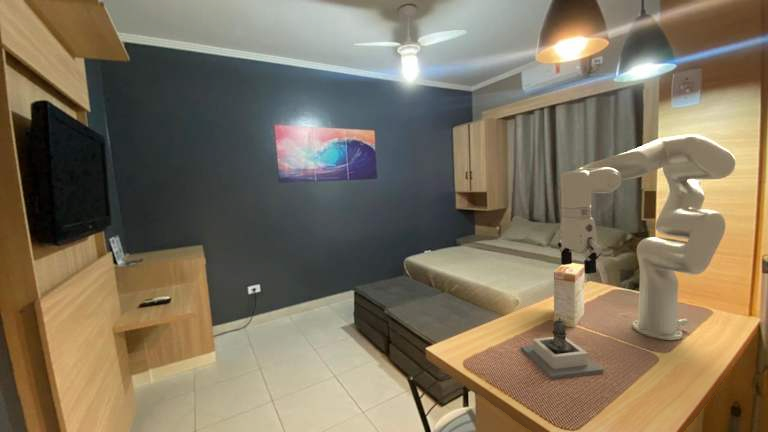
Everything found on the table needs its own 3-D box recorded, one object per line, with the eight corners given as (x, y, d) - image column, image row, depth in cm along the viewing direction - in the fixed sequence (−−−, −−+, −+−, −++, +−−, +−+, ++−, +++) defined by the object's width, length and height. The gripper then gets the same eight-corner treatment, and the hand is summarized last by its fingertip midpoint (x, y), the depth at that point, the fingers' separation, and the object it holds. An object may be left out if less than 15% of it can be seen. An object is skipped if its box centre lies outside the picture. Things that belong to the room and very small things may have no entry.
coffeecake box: (564, 309, 124) (564, 261, 122) (585, 313, 120) (585, 264, 117) (552, 322, 114) (552, 271, 112) (575, 328, 109) (575, 274, 107)
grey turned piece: (574, 363, 87) (574, 322, 86) (551, 362, 89) (551, 322, 87) (566, 352, 93) (567, 313, 92) (545, 351, 94) (545, 313, 93)
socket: (565, 344, 99) (565, 331, 99) (603, 372, 84) (603, 357, 84) (520, 349, 98) (520, 335, 97) (551, 379, 83) (551, 363, 82)
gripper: (612, 214, 84) (613, 275, 86) (567, 208, 101) (569, 259, 103) (587, 217, 83) (588, 278, 85) (546, 211, 100) (548, 262, 102)
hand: (577, 268), depth 94 cm, fingers open, 9 cm apart
